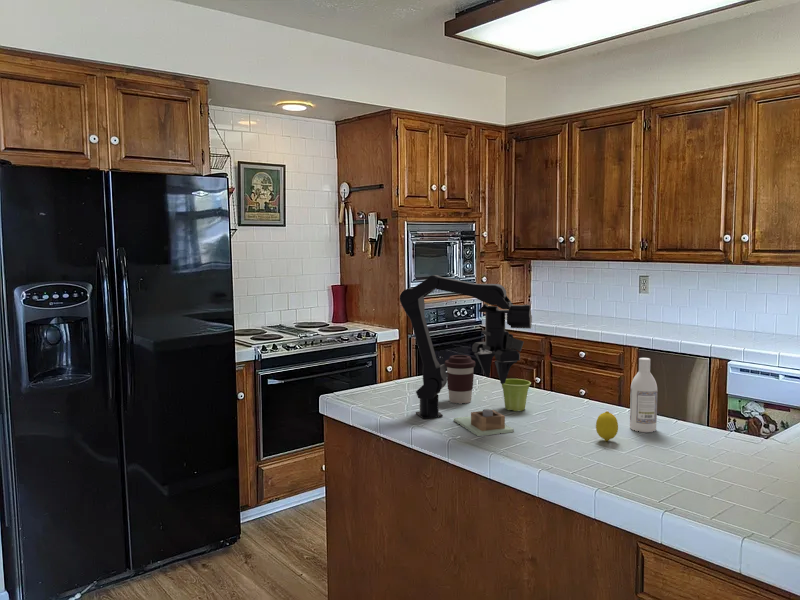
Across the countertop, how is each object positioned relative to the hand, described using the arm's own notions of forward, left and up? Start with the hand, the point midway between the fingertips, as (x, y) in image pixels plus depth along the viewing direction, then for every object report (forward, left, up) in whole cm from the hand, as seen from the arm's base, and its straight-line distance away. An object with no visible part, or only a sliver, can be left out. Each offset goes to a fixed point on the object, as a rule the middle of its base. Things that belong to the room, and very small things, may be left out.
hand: (495, 380), depth 186 cm
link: (+7, -6, -11) cm, 15 cm away
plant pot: (-9, +12, -12) cm, 19 cm away
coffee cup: (-24, 0, -12) cm, 27 cm away
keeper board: (+4, -6, -12) cm, 14 cm away
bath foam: (+23, +34, -12) cm, 43 cm away
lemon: (+28, +18, -12) cm, 35 cm away
